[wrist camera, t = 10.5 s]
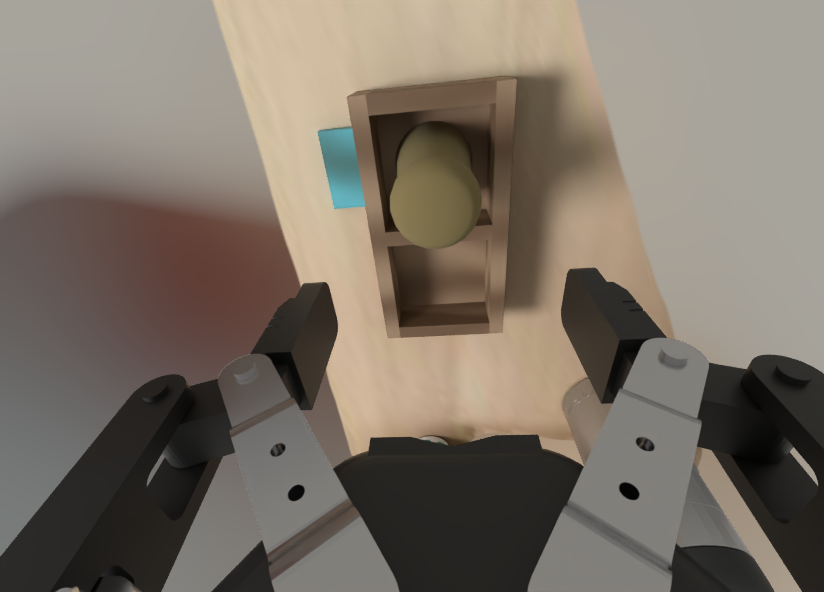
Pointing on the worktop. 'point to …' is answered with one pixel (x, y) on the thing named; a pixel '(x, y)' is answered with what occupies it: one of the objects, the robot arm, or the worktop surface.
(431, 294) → the wooden divided tray
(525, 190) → the worktop surface
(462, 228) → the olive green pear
